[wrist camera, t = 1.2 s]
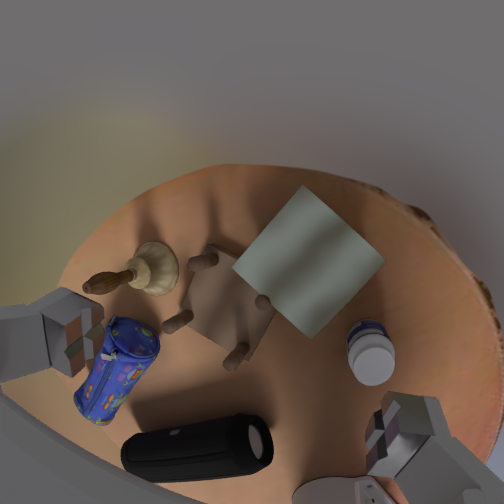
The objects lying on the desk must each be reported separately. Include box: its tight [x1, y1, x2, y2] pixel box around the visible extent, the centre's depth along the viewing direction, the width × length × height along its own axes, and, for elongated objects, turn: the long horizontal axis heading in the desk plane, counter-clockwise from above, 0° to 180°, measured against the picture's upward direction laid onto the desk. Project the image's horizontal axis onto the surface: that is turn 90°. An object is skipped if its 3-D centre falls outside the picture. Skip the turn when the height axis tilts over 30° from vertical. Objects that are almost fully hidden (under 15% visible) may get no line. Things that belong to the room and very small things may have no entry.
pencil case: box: [74, 314, 160, 426], centre depth 47 cm, size 22×9×10 cm, turn 144°
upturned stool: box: [162, 243, 277, 371], centre depth 41 cm, size 12×12×8 cm
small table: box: [231, 185, 386, 340], centre depth 38 cm, size 12×12×8 cm
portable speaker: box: [121, 414, 274, 483], centre depth 44 cm, size 26×10×10 cm, turn 116°
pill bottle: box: [346, 319, 395, 386], centre depth 36 cm, size 6×6×10 cm
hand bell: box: [82, 241, 179, 296], centre depth 40 cm, size 8×8×16 cm
